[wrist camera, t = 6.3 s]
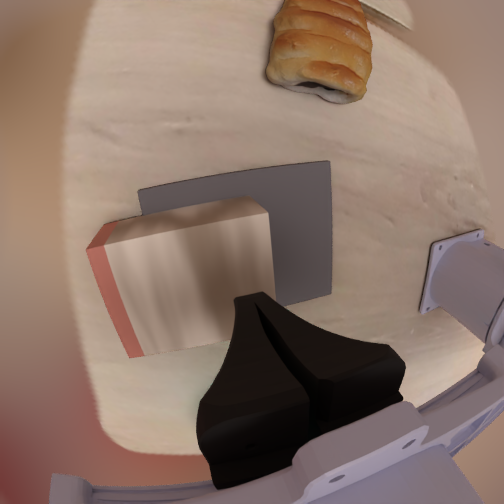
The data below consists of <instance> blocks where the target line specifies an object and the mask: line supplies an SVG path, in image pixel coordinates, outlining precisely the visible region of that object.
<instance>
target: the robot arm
mask: <svg viewBox="0 0 504 504" xmlns="http://www.w3.org/2000/svg"><path fill="white" fill-rule="evenodd" d="M483 237H484V230H482V229H479V230H476V231H473V232H469V233H466V234H463V235H459V236H456V237H453V238H449V239H446V240H442V241H439V242H435V243H434V244H433V245H432V248H431V254H430V260H429V266H428V272H427V277H426V283H425V288H424V292H423V297H422V301H421V306H420V311H419V312H420V313H421V314H425V313H427V312H429V311H431V310H433V309H435V308H438V307H442V308H443V309H444V310H445V311H447V312H448V313H449V314H450V315H452V316H453V317H454V318H455V319H456V320H458V321H459V322H460V323H461V324H462V325H464V326H465V327H466V328H467V329H468V330H470V331H471V332H472V333H473V334H474V335H475V336H477V337H478V338H479V339H480V340H481V341H482V342H483V343H485V346H484V348H483V352H485V354H484V355H483V357H482V358H481V359H480V361H479V363H478V366H477V368H476V369H475V370H474V371H472V372H471V373H470V374H468V375H467V376H466V377H464V378H463V379H461V380H460V381H459V382H457V383H456V384H454V385H453V386H451V387H450V388H448V389H447V390H445V391H444V392H442V393H441V394H439V395H437V396H436V397H434V398H433V399H431V400H429V401H428V402H426V403H424V404H423V405H421V406H419V407H418V408H415V407H414V405H413V404H412V403H410V402H407V401H403V396H402V395H401V394H400V392H399V388H400V385H401V383H402V380H403V377H404V374H405V369H406V366H405V362H404V361H403V360H402V359H401V358H400V356H399V355H398V354H397V353H396V352H395V351H394V350H393V349H392V348H391V347H390V346H389V345H387V344H379V343H371V342H364V341H360V340H355V339H351V338H347V337H344V336H340V335H337V334H334V333H331V332H329V331H326V330H324V329H321V328H319V327H317V326H315V325H312V324H310V323H308V322H307V321H305V320H303V319H301V318H300V317H298V316H296V315H295V314H293V313H292V312H290V311H289V310H287V309H286V308H284V307H283V306H282V305H280V304H279V303H277V302H276V301H275V300H274V299H272V298H271V297H270V296H269V295H267V294H266V293H265V292H263V291H262V292H257V293H253V294H248V295H244V296H239V297H235V299H234V300H233V301H234V307H235V320H234V328H233V333H232V338H231V342H230V345H229V349H228V352H227V355H226V357H225V360H224V362H223V364H222V367H221V369H220V371H219V373H218V374H217V376H216V378H215V380H214V382H213V383H212V385H211V387H210V388H209V390H208V391H207V392H206V394H205V395H204V397H203V398H202V399H201V401H200V404H199V409H198V414H197V422H196V433H197V440H198V445H199V449H200V450H201V452H202V454H203V455H204V457H205V458H206V460H207V462H208V463H209V466H210V471H211V477H212V480H208V481H202V482H194V483H184V484H174V485H159V486H130V487H129V486H128V487H127V486H121V487H120V486H97V485H91V484H90V483H89V482H88V481H87V480H86V479H84V478H82V477H79V476H75V475H66V474H56V473H53V474H52V479H51V487H50V497H49V504H485V503H484V502H483V501H482V499H481V498H480V496H479V495H478V494H477V492H476V491H475V489H474V488H473V486H472V485H471V484H470V482H469V481H468V480H467V478H466V477H465V475H464V474H463V473H462V471H461V470H460V468H459V467H458V466H457V464H456V463H455V462H454V460H453V459H452V457H453V456H455V455H456V454H457V453H458V452H459V451H460V450H462V449H463V448H464V447H465V446H467V445H468V444H469V443H470V442H471V441H472V440H473V439H474V438H475V437H477V436H478V435H479V434H480V433H481V432H482V431H483V430H484V429H485V428H486V427H487V426H488V425H490V424H491V423H492V422H493V421H494V420H495V419H496V418H497V417H498V416H499V415H500V414H501V413H502V412H503V411H504V249H502V248H500V247H498V246H497V245H495V244H493V243H491V242H489V241H487V240H485V239H483ZM401 401H402V402H401Z"/></svg>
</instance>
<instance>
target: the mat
mask: <svg viewBox="0 0 504 504" xmlns="http://www.w3.org/2000/svg"><path fill="white" fill-rule="evenodd" d="M138 196H139V201H140V205H141V210H142V214H143V216H144V215H148V214H153V213H158V212H162V211H167V210H172V209H177V208H182V207H187V206H192V205H198V204H203V203H208V202H214V201H219V200H225V199H231V198H237V197H243V196H250V197H252V198H253V199H254V200H255V201H256V202H257V203H258V204H259V205H260V206H261V207H263V208H264V209H265V210H266V211H267V212H268V215H269V225H270V236H271V247H272V259H273V270H274V282H275V294H276V302H277V303H279V304H280V305H282V306H287V305H291V304H295V303H299V302H303V301H306V300H310V299H314V298H318V297H321V296H325V295H329V294H331V289H332V192H331V168H330V161H318V162H308V163H298V164H289V165H281V166H273V167H265V168H257V169H250V170H243V171H237V172H230V173H224V174H218V175H212V176H206V177H200V178H195V179H189V180H184V181H179V182H174V183H169V184H164V185H159V186H154V187H150V188H145V189H141V190H138Z"/></svg>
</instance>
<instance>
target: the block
mask: <svg viewBox="0 0 504 504" xmlns="http://www.w3.org/2000/svg"><path fill="white" fill-rule="evenodd" d="M86 252H87V255H88V258H89V261H90V264H91V267H92V270H93V273H94V276H95V278H96V281H97V284H98V286H99V289H100V292H101V294H102V297H103V300H104V302H105V305H106V307H107V309H108V312H109V314H110V317H111V319H112V321H113V324H114V326H115V328H116V331H117V333H118V335H119V337H120V339H121V342H122V344H123V346H124V348H125V350H126V352H127V354H128V356H129V358H134V357H141V356H147V355H154V354H160V353H166V352H171V351H177V350H182V349H188V348H193V347H198V346H203V345H208V344H213V343H218V342H222V341H227V340H231V338H232V333H233V328H234V320H235V307H234V301H233V300H234V299H235V297H239V296H244V295H248V294H253V293H257V292H262V291H263V292H265V293H266V294H267V295H269V296H270V297H271V298H272V299H274V300H275V301H276V294H275V282H274V270H273V259H272V247H271V236H270V225H269V215H268V212H267V211H266V210H265V209H264V208H263V207H261V206H260V205H259V204H258V203H257V202H256V201H255V200H254V199H253V198H252V197H250V196H243V197H237V198H231V199H225V200H219V201H214V202H208V203H203V204H198V205H192V206H187V207H182V208H177V209H172V210H167V211H162V212H158V213H153V214H148V215H144V216H139V217H134V218H130V219H126V220H121V221H117V222H113V223H108V224H104V225H103V227H102V228H101V229H100V231H99V232H98V233H97V235H96V236H95V237H94V239H93V240H92V242H91V243H90V244H89V246H88V247H87V249H86Z"/></svg>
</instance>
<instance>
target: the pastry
mask: <svg viewBox="0 0 504 504" xmlns="http://www.w3.org/2000/svg"><path fill="white" fill-rule="evenodd" d="M274 28H275V33H274V38H273V41H272V45H271V47H270V60H269V64H268V66H267V68H266V74H267V77H268V79H269V80H270V81H271V82H272V83H274V84H279V85H282V86H283V87H284V88H286V89H289V90H292V91H295V92H304V93H311V94H318V95H319V96H321V97H322V98H324V99H326V100H328V101H330V102H335V103H339V104H347V103H352V102H355V101H358V100H360V99H362V98H363V96H364V94H365V93H366V91H367V89H366V84H367V81H368V78H369V76H370V74H371V70H372V62H371V51H372V45H373V44H372V40H371V36H370V32H369V30H368V28H367V22H366V19H365V17H364V13H363V10H362V8H361V4H360V2H359V1H358V0H285V1H284V4H283V7H282V8H281V10H280V12H279V13H277V15H276V16H275V18H274Z"/></svg>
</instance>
